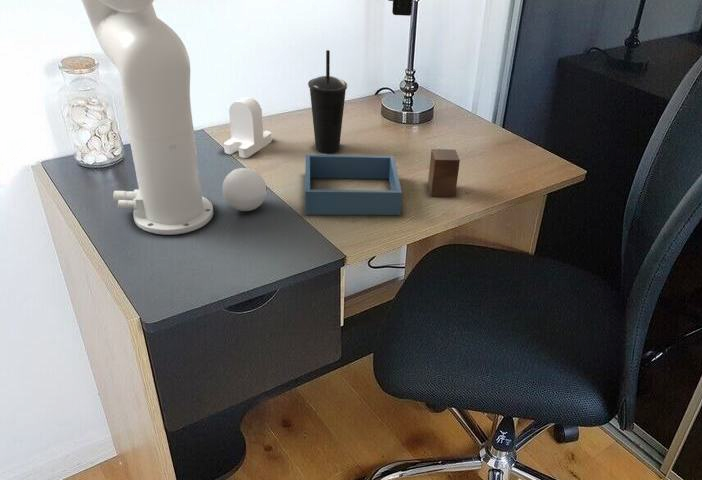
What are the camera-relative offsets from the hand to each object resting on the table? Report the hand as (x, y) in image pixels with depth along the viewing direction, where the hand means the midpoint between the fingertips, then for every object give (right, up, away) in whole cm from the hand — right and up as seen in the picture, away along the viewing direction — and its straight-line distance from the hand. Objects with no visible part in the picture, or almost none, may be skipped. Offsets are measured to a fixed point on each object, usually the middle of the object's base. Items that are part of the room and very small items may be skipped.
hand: (398, 7), depth 113 cm
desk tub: (-9, -32, +7) cm, 34 cm away
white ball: (-27, -34, +1) cm, 44 cm away
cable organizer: (-31, -20, +20) cm, 42 cm away
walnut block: (+8, -30, +11) cm, 33 cm away
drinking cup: (-15, -20, +22) cm, 34 cm away
